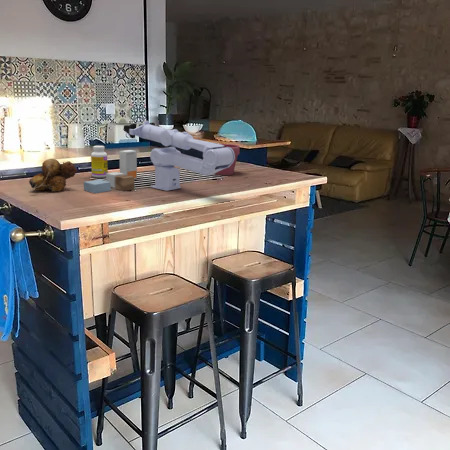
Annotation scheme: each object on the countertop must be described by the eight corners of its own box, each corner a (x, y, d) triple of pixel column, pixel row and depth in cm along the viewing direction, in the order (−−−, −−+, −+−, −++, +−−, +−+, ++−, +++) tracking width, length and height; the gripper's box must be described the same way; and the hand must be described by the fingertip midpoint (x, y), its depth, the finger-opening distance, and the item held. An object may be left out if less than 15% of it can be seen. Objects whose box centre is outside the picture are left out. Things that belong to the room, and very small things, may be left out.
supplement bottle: (105, 178, 211) (104, 147, 207) (90, 177, 211) (88, 147, 207) (109, 175, 217) (108, 145, 213) (94, 174, 217) (93, 145, 214)
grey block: (124, 186, 197) (124, 173, 195) (114, 188, 193) (114, 175, 192) (117, 184, 200) (116, 171, 198) (106, 186, 196) (106, 173, 195)
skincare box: (126, 181, 206) (125, 152, 203) (119, 179, 208) (118, 150, 205) (137, 179, 211) (136, 150, 207) (130, 177, 213) (129, 149, 210)
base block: (110, 191, 188) (110, 182, 187) (95, 194, 183) (94, 184, 182) (99, 188, 193) (99, 179, 192) (84, 191, 187) (83, 181, 186)
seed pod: (81, 175, 181) (72, 156, 192) (36, 168, 172) (28, 149, 182) (73, 205, 186) (64, 186, 197) (28, 201, 177) (21, 180, 188)
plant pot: (203, 171, 232) (203, 143, 229) (230, 170, 238) (231, 143, 235) (215, 177, 220) (216, 148, 216) (244, 175, 226) (245, 147, 222)
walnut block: (134, 189, 192) (134, 176, 190) (124, 191, 188) (123, 178, 187) (126, 187, 195) (125, 174, 193) (115, 189, 191) (115, 176, 190)
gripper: (168, 122, 197) (146, 116, 206) (140, 123, 187) (117, 118, 195) (167, 139, 200) (145, 133, 208) (139, 142, 189) (117, 136, 197)
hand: (131, 127), depth 202 cm, fingers open, 7 cm apart
